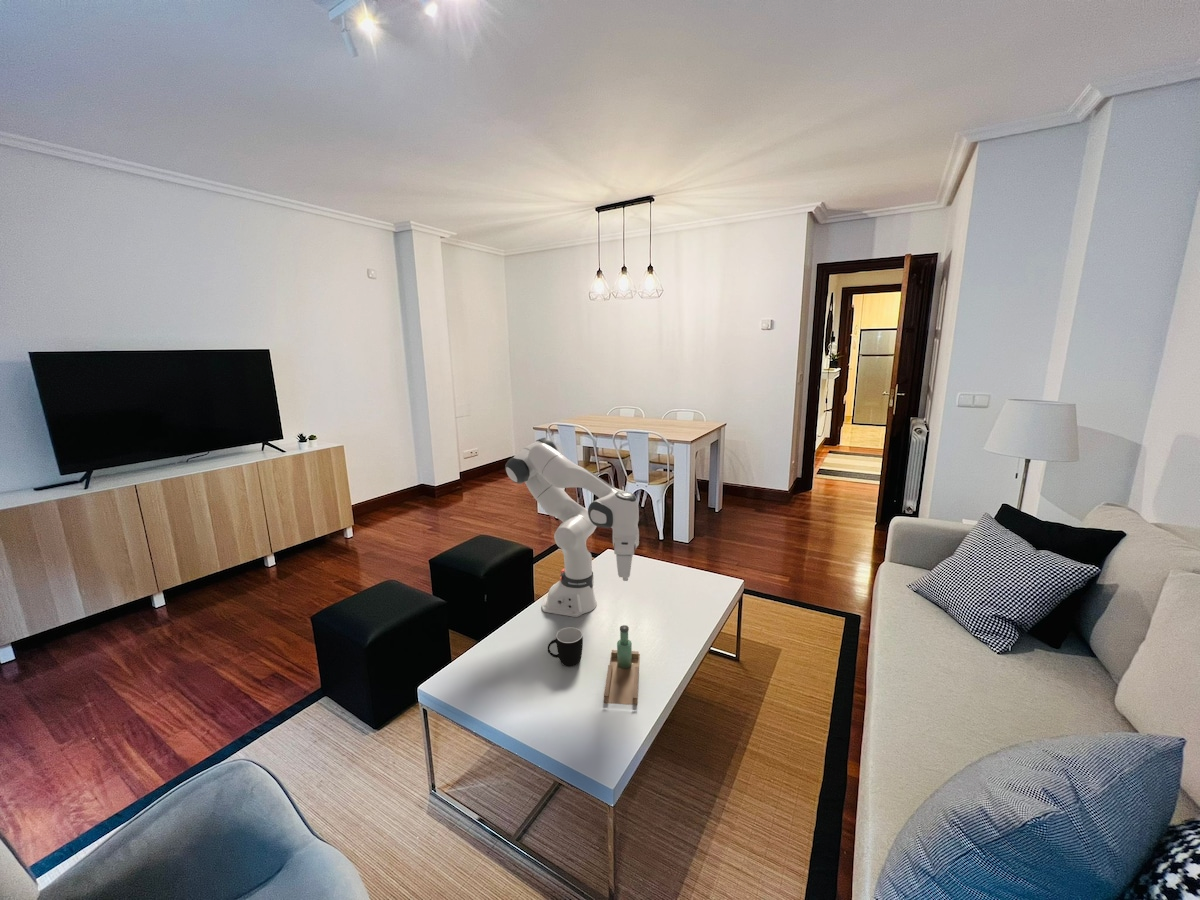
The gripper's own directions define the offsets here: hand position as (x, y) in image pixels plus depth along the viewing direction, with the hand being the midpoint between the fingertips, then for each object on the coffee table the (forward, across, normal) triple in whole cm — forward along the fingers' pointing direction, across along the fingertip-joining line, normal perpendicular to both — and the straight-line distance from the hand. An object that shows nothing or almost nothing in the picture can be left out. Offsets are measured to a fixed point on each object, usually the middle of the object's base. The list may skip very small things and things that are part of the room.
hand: (625, 576), depth 165 cm
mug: (+27, +10, -20) cm, 35 cm away
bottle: (+27, +10, 0) cm, 29 cm away
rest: (+27, +16, 0) cm, 32 cm away
